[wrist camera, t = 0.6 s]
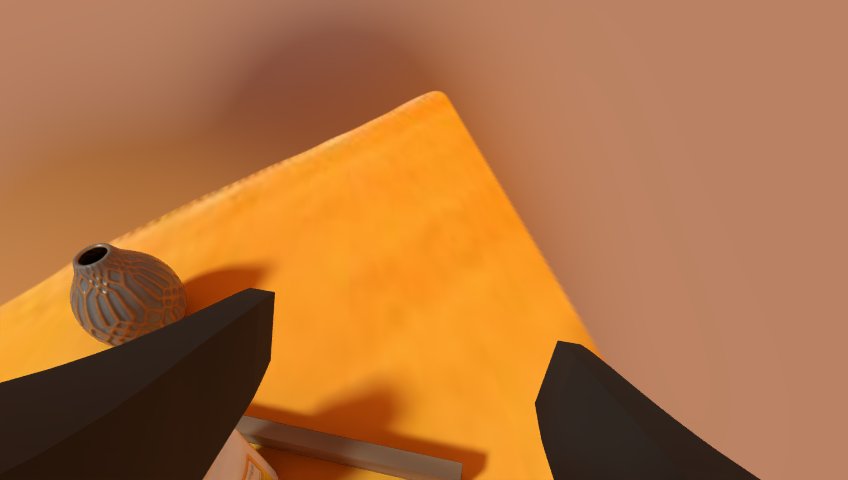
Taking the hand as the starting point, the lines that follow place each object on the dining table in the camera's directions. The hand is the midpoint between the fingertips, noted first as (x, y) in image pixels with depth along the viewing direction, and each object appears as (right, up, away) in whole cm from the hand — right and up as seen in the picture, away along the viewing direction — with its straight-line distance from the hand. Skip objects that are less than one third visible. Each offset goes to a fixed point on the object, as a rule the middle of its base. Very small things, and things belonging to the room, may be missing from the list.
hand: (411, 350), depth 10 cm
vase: (-23, -5, +24) cm, 33 cm away
